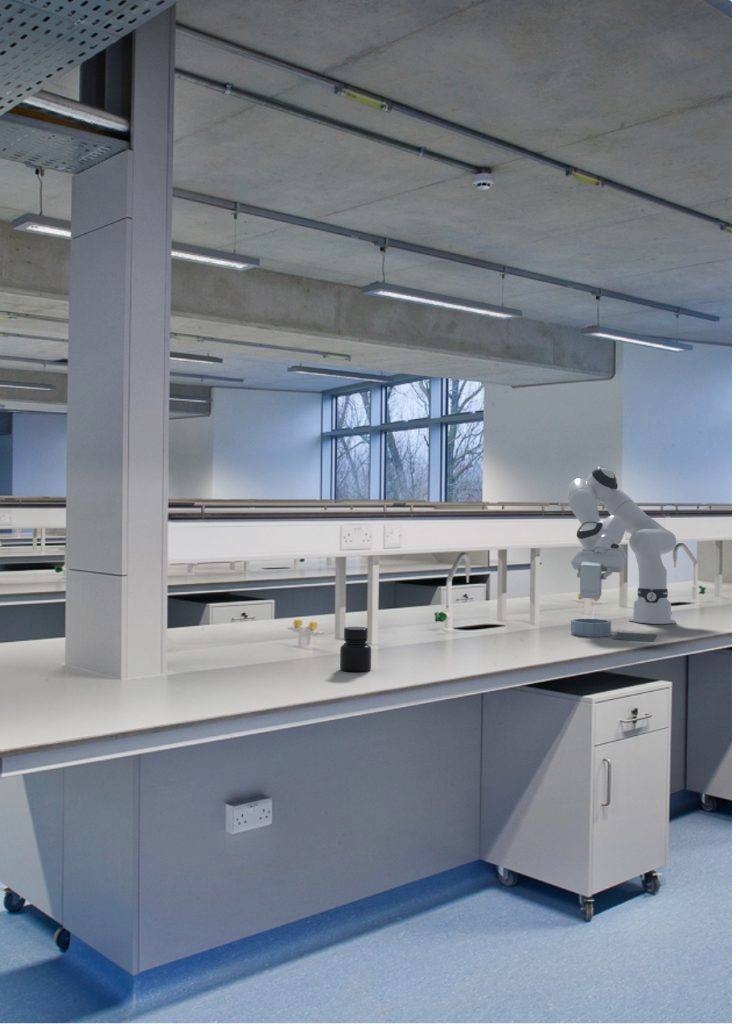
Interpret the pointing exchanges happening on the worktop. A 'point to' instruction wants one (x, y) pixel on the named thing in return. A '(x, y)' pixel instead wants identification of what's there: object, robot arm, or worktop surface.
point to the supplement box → (590, 580)
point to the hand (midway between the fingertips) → (590, 577)
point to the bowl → (591, 627)
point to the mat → (635, 636)
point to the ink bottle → (355, 650)
